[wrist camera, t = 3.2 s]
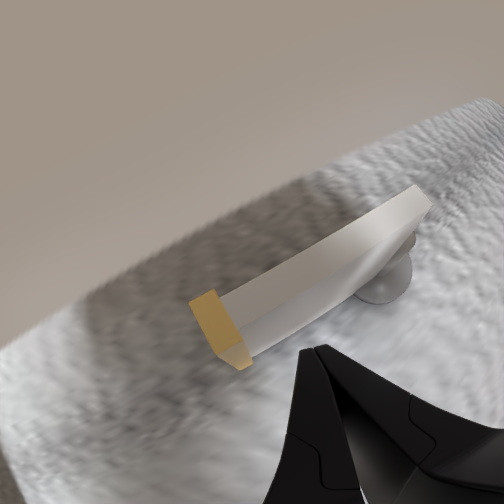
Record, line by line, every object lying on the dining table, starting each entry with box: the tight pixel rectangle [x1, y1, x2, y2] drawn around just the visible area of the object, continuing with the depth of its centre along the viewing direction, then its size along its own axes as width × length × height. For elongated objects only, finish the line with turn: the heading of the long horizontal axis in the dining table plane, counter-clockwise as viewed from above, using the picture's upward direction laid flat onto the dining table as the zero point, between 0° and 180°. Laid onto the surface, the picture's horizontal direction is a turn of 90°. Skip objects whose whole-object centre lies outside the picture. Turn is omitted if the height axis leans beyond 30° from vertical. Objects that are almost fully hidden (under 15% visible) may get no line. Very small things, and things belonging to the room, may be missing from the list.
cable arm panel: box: [188, 185, 433, 371], centre depth 12 cm, size 12×4×8 cm, turn 120°
